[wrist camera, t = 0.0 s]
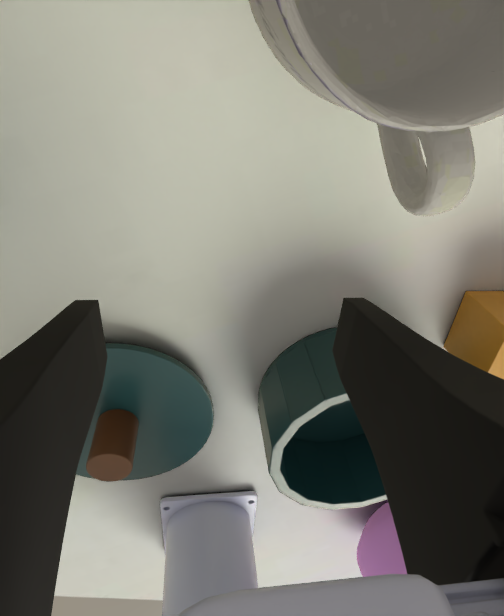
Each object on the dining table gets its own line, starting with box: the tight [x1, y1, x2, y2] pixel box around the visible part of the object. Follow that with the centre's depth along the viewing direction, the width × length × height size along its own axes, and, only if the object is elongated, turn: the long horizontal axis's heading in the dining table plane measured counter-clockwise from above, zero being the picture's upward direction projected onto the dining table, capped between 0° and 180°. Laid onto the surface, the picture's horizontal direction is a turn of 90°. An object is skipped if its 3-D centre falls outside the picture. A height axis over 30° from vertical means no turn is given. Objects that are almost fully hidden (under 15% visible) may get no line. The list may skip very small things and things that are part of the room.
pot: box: [258, 327, 387, 510], centre depth 26 cm, size 11×11×5 cm
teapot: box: [357, 502, 407, 577], centre depth 34 cm, size 20×14×12 cm
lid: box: [76, 343, 214, 481], centre depth 25 cm, size 12×12×4 cm
